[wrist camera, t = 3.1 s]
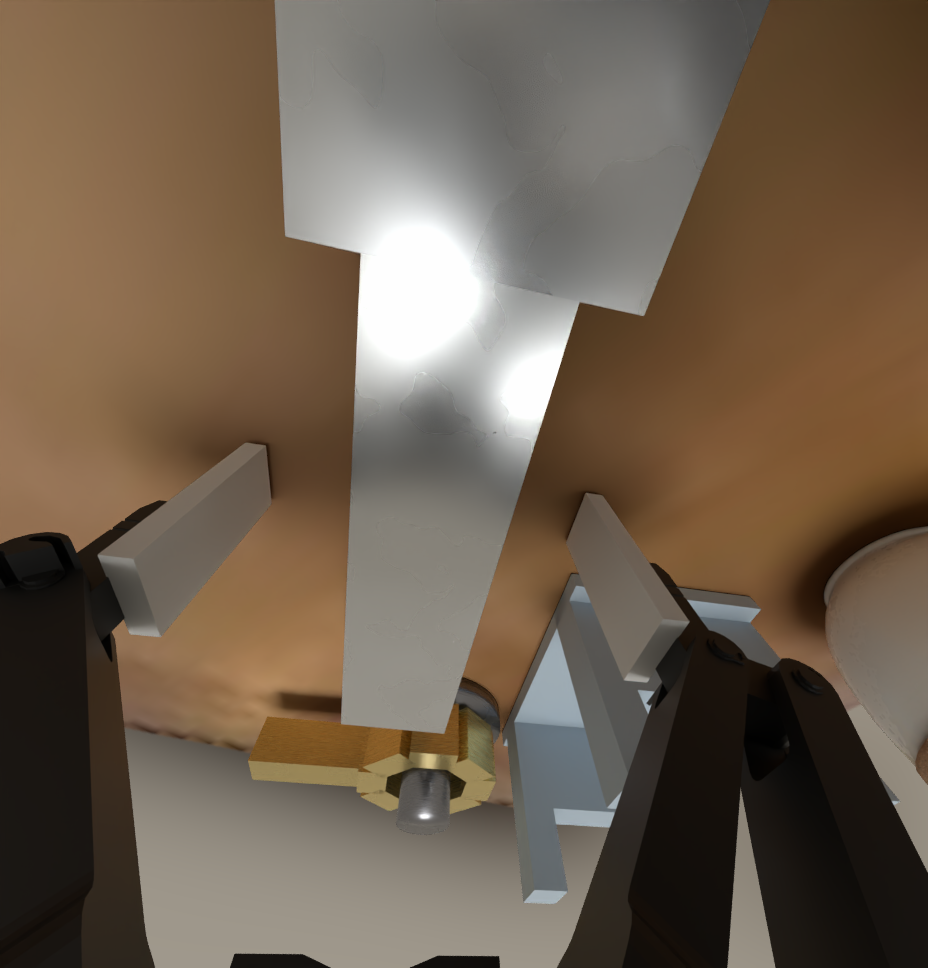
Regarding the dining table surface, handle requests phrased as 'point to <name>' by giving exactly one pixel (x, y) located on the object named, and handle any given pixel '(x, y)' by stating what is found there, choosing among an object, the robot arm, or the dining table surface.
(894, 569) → the lidded jar
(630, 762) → the rack
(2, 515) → the dining table surface
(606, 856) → the robot arm
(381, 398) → the white t-shaped plate
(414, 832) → the nut base
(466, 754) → the gold box wrench
